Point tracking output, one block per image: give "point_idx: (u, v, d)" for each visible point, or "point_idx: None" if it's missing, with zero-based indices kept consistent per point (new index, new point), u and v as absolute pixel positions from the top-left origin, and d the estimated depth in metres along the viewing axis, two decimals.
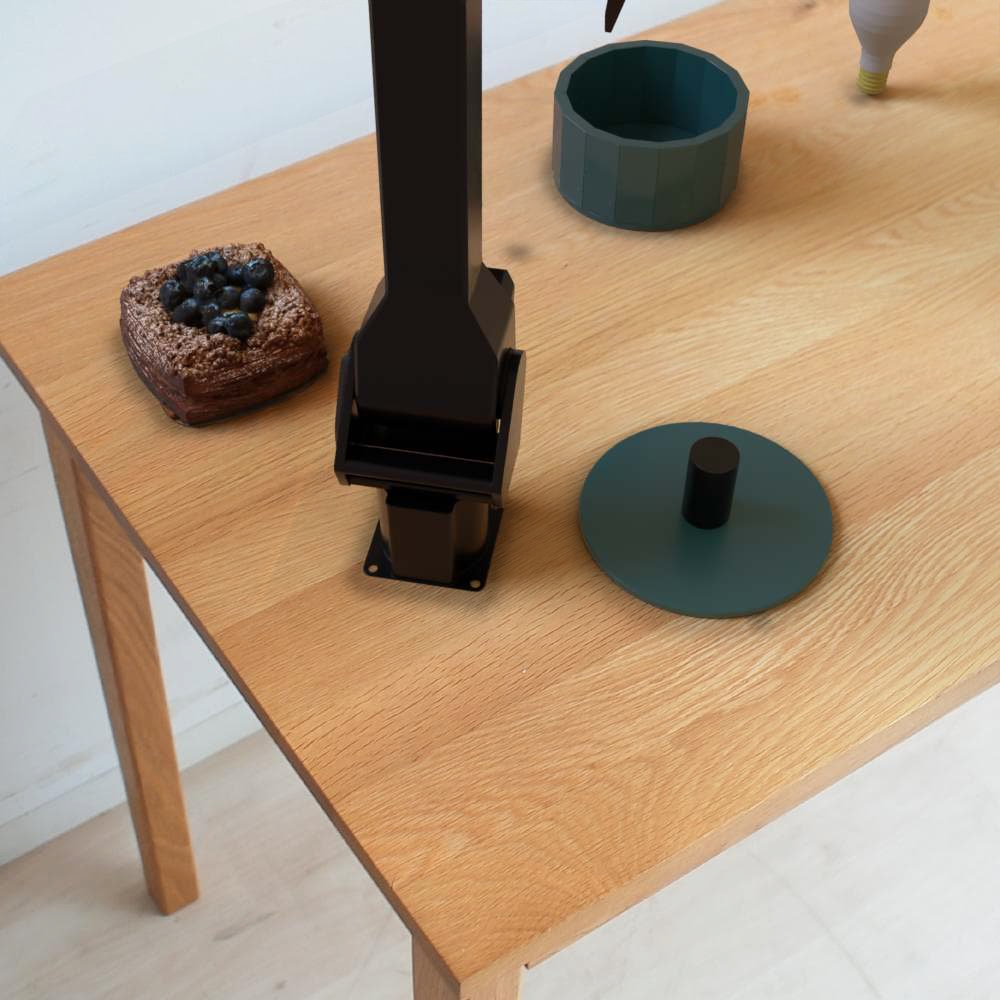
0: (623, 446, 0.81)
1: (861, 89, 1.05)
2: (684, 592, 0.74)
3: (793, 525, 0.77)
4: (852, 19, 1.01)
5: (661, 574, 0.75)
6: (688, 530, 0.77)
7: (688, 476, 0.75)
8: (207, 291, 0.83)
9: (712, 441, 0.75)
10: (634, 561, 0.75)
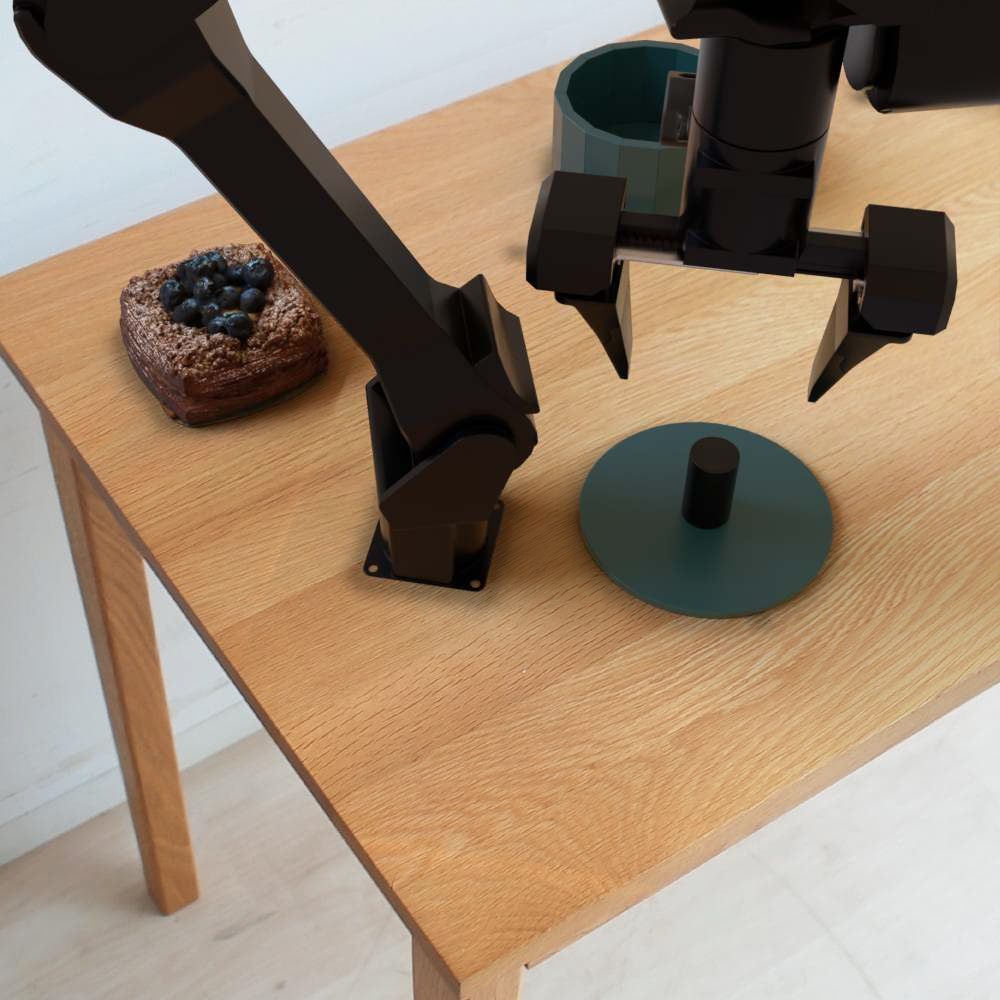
0: (623, 446, 0.81)
1: None
2: (684, 592, 0.74)
3: (793, 525, 0.77)
4: None
5: (661, 574, 0.75)
6: (688, 530, 0.77)
7: (688, 476, 0.75)
8: (207, 291, 0.83)
9: (712, 441, 0.75)
10: (634, 561, 0.75)
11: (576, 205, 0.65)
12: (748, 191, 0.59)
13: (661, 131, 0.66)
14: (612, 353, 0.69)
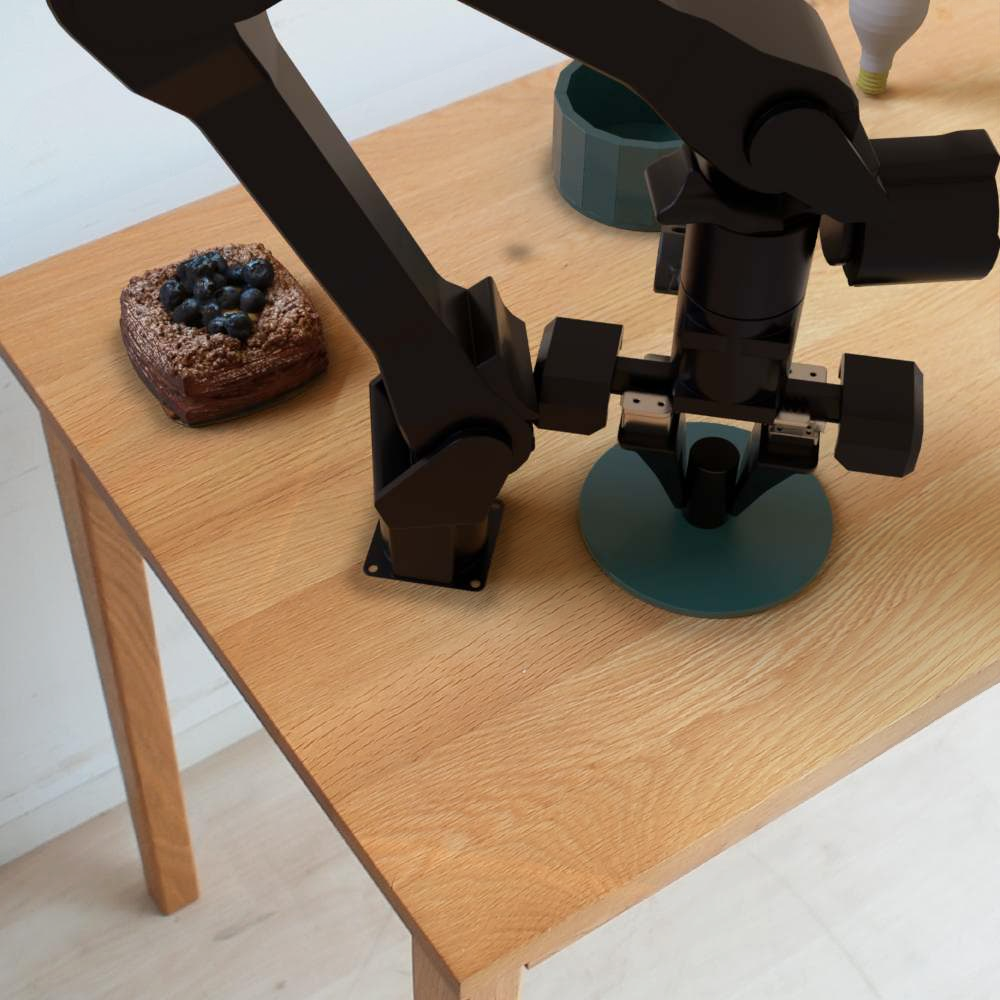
0: None
1: (861, 89, 1.05)
2: (684, 592, 0.74)
3: (793, 525, 0.77)
4: (852, 19, 1.01)
5: (661, 574, 0.75)
6: (688, 530, 0.77)
7: (688, 476, 0.75)
8: (207, 291, 0.83)
9: (712, 441, 0.75)
10: (634, 561, 0.75)
11: (575, 352, 0.70)
12: (730, 352, 0.65)
13: (655, 281, 0.72)
14: (668, 488, 0.75)
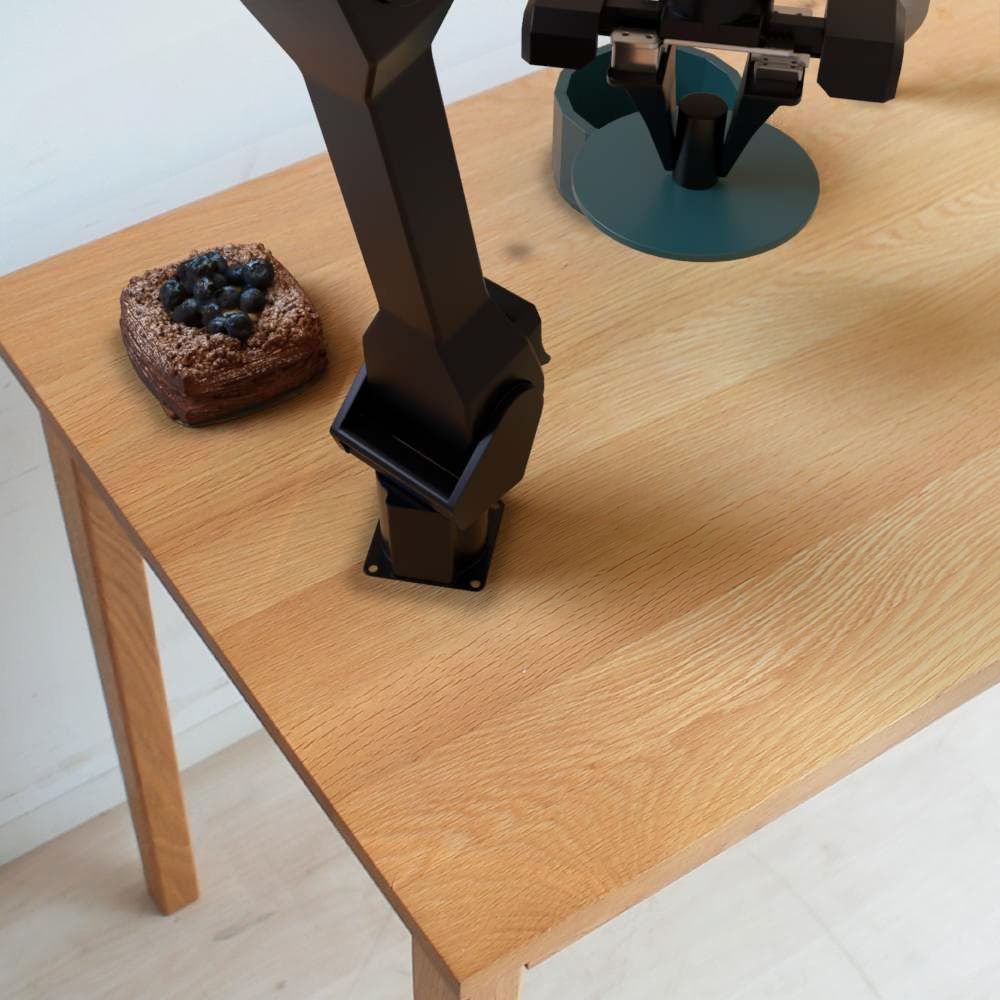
0: (616, 125, 0.83)
1: None
2: (672, 239, 0.76)
3: (780, 187, 0.79)
4: None
5: (650, 225, 0.77)
6: (677, 190, 0.79)
7: (677, 131, 0.77)
8: (207, 291, 0.83)
9: (701, 96, 0.77)
10: (624, 214, 0.77)
11: None
12: None
13: None
14: (658, 141, 0.77)
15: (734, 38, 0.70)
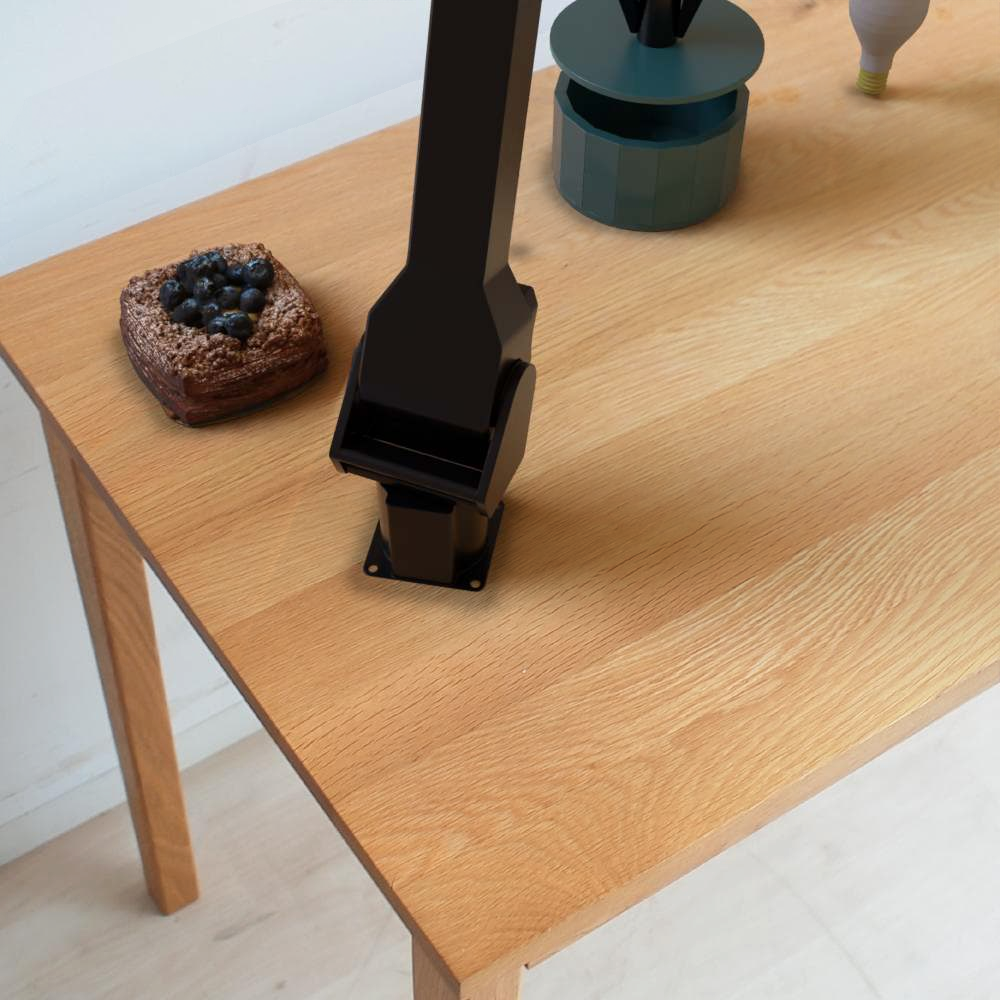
0: None
1: (861, 89, 1.05)
2: (637, 85, 0.88)
3: (730, 46, 0.91)
4: (852, 19, 1.01)
5: (618, 75, 0.89)
6: (641, 49, 0.91)
7: None
8: (207, 291, 0.83)
9: None
10: (595, 67, 0.89)
11: None
12: None
13: None
14: (624, 3, 0.89)
15: None
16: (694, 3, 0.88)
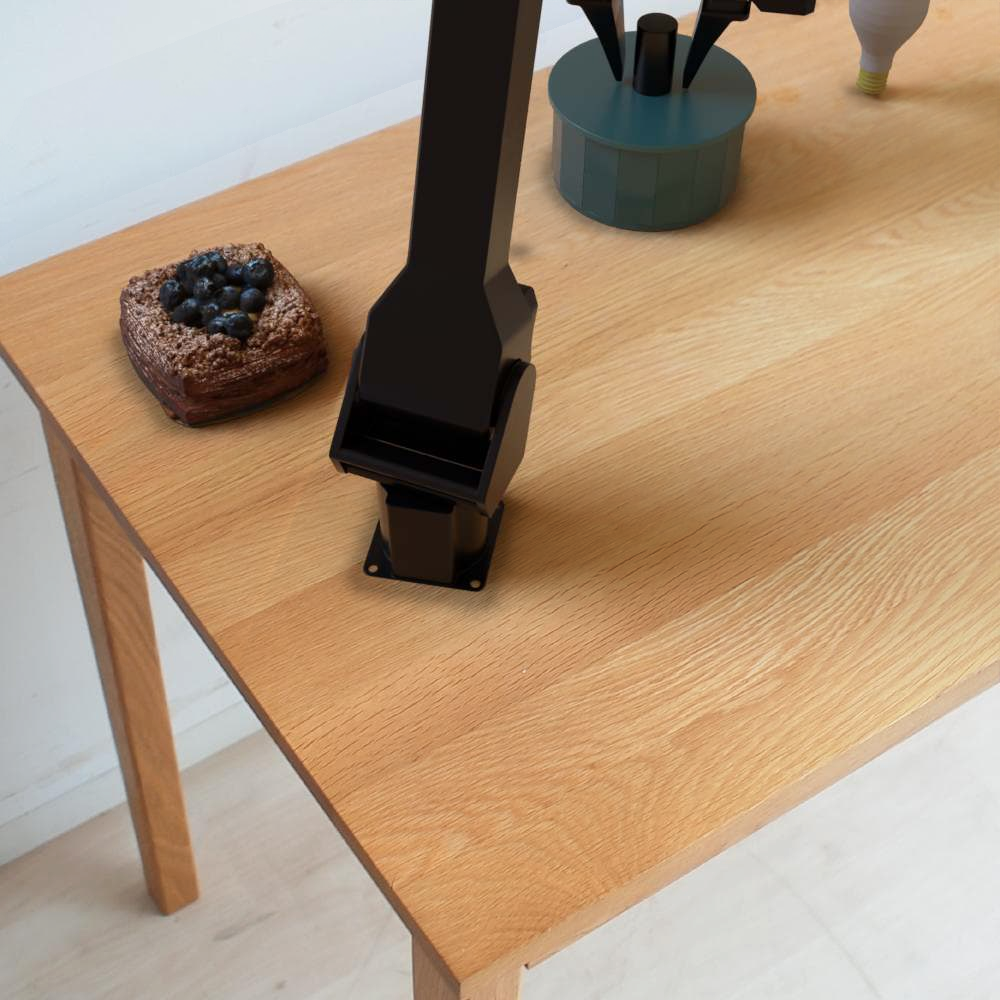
0: (585, 46, 0.97)
1: (861, 89, 1.05)
2: (632, 134, 0.90)
3: (723, 94, 0.93)
4: (852, 19, 1.01)
5: (614, 123, 0.91)
6: (637, 97, 0.93)
7: (636, 45, 0.92)
8: (207, 291, 0.83)
9: (656, 15, 0.91)
10: (592, 115, 0.92)
11: None
12: None
13: None
14: (609, 53, 0.91)
15: None
16: (699, 56, 0.90)
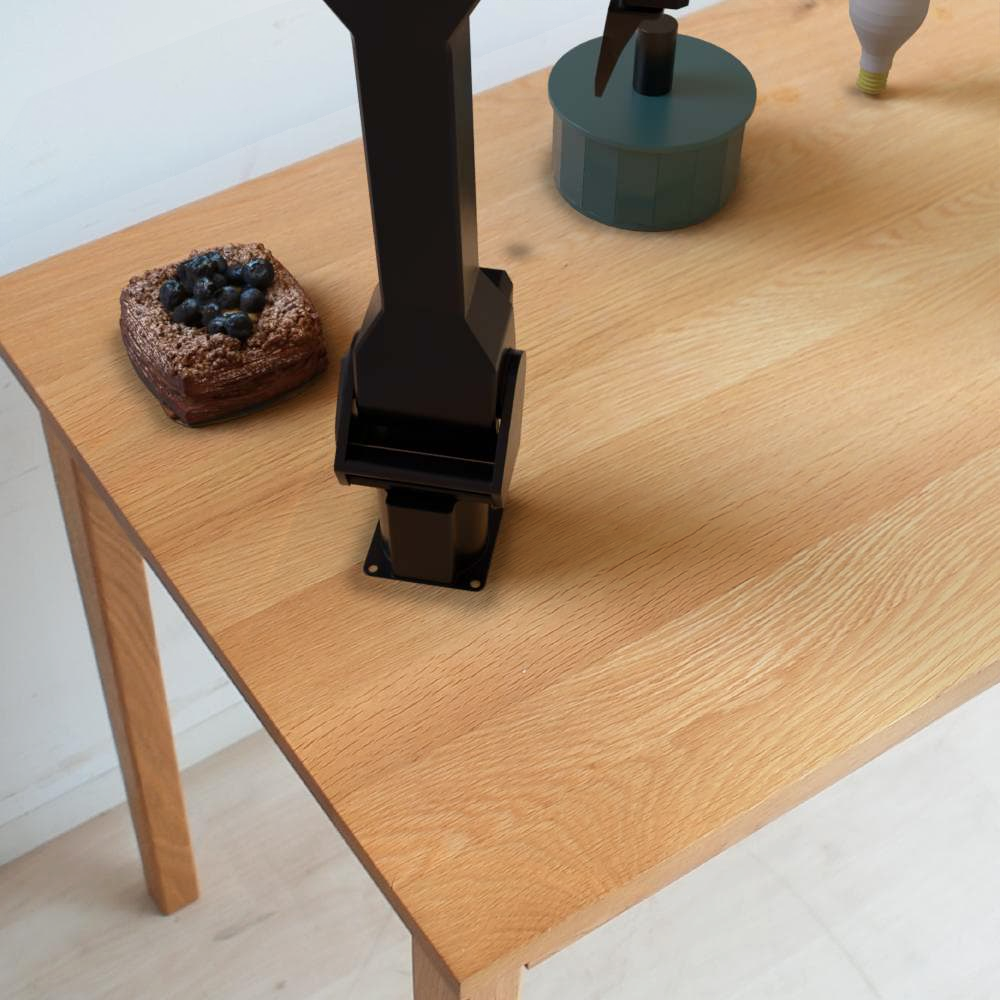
0: (585, 46, 0.97)
1: (861, 89, 1.05)
2: (632, 134, 0.90)
3: (723, 94, 0.93)
4: (852, 19, 1.01)
5: (614, 123, 0.91)
6: (637, 97, 0.93)
7: (636, 45, 0.92)
8: (207, 291, 0.83)
9: None
10: (592, 115, 0.92)
11: None
12: None
13: None
14: None
15: None
16: (610, 61, 0.80)
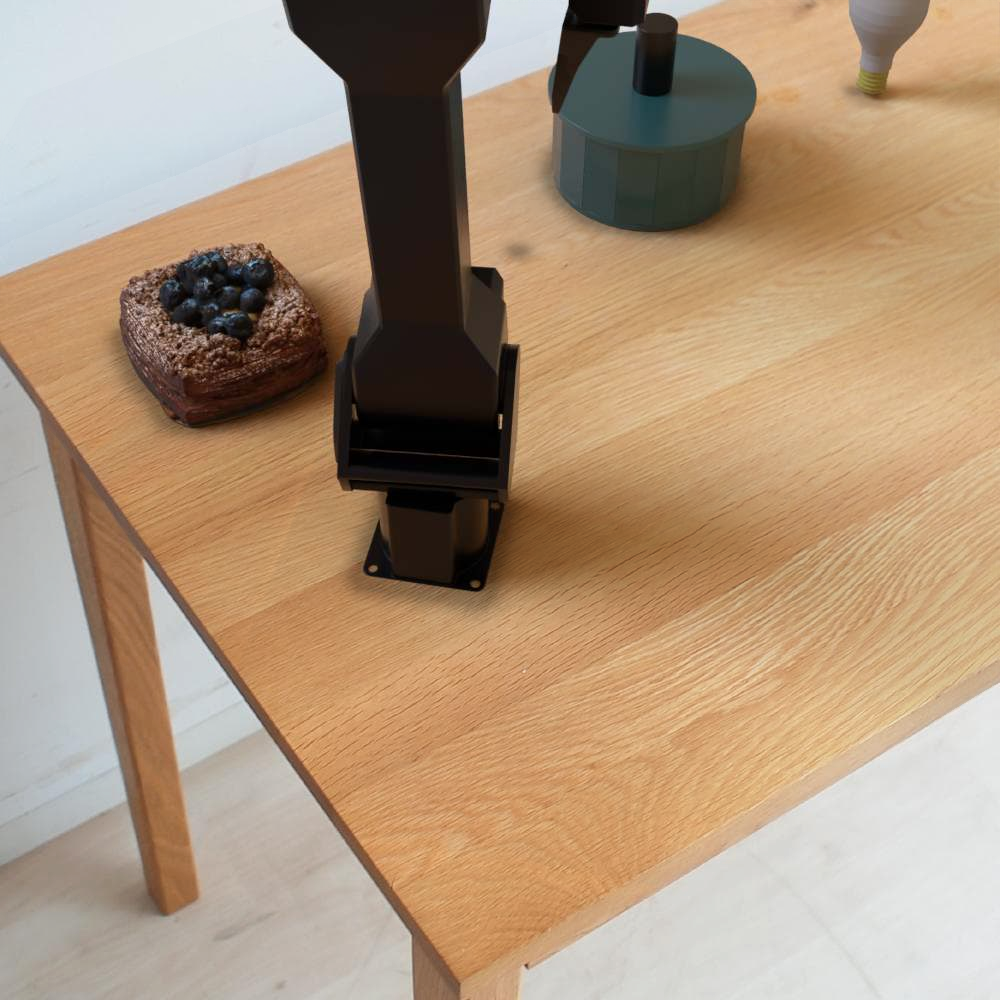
0: None
1: (861, 89, 1.05)
2: (632, 134, 0.90)
3: (723, 94, 0.93)
4: (852, 19, 1.01)
5: (614, 123, 0.91)
6: (637, 97, 0.93)
7: (636, 45, 0.92)
8: (207, 291, 0.83)
9: (656, 15, 0.91)
10: (592, 115, 0.92)
11: None
12: None
13: None
14: None
15: None
16: (566, 78, 0.78)
